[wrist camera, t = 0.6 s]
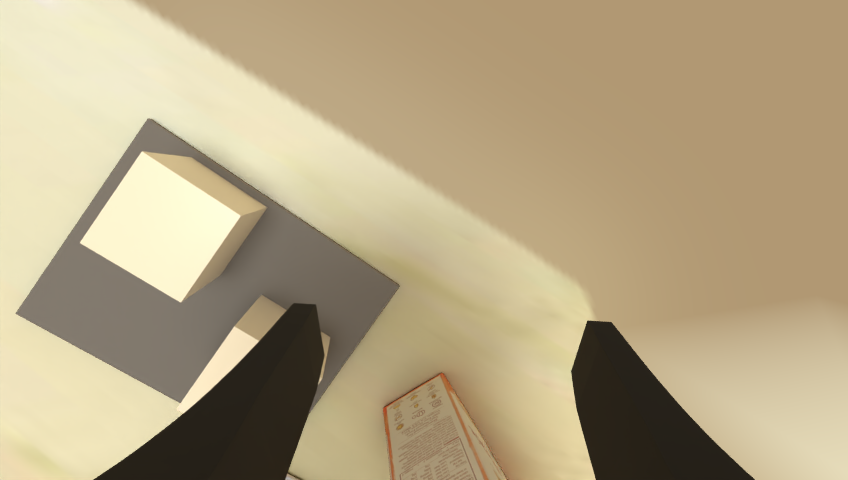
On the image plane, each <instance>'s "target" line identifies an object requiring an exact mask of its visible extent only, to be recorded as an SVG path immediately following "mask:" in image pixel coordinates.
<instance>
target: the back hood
mask: <svg viewBox="0 0 848 480" xmlns="http://www.w3.org/2000/svg"><path fill="white" fill-rule="evenodd" d="M285 312H286V309H284V308H282V307H281V306H279V305H278V304H276V303H274V302H273V301H271V300H269V299H268V298H266V297H265V296H263V295H261V296H260V297H259V298H258V299H257V300H256V302H255V303H254V304H253V305H252V306H251V307H250V309H249V310H248V311H247V312H246V313H245V314H244V316H243V317H242V318H241V319H240V320H239V321H238V323H237V324H236V325H235V326H234V327H233V329H232V330H231V332H230V333H229V335H228V336H227V337H226V339H225V340H224V342H223V343H222V345H221V346H220V347H219V349H218V350H217V352H216V353H215V355H214V356H213V357H212V359H211V360H210V362H209V363H208V365H207V366H206V368H205V369H204V370H203V372H202V373H201V375H200V376H199V378H198V379H197V380H196V382H195V383H194V385H193V386H192V388H191V389H190V390H189V392H188V393H187V395H186V396H185V398H184V399H183V400H182V402H181V403H180V405H179V406H178V408H177V409H176V410H178V411H180V412H181V413H185V412H186V411H187V410H188V409H189V408H190V407H192V406H193V405H194V404H195V403H196V402H197V401H199V400H200V399H201V398H202V397H203V396H204V395H205V394H206V393H207V392H209V391H210V390H211V389H212V388H213V387H214V386H215V385H216V384H217V383H218V382H219V381H220V380H221V379H222V378H223V377H224V376H225V375H226V374H227V373H228V372H230V371H231V370H232V369H233V368H234V367H235V366H236V365H237V364H238V363H239V362H240V361H241V359H242V358H243V357H244V356H245V355H246V354H247V353H248V352H249V351H250V350H251V349H252V348H253V347H254V346H255V345H256V344H257V343H258V342H259V341H260V339H261V338H262V337H263V336H264V335H265V334H266V333H267V332H268V331H269V330H270V328H271V327H272V326H273V325H274V324H275V323H276V322H277V321H278V319H279V318H280V317H281V316H282V315H283V314H284V313H285ZM321 337H322V342H323V348H324V354H325V356H324V361H323V365H322V370H321V375H320V379H319V383H320V381H321V380H322V378H323V373H324V368H325V363H326V357H327V352H328V347H329V342H330V337H329V336H328V335H326V334H324V333H323V332H321ZM319 383H318V384H319Z"/></svg>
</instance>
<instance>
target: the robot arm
mask: <svg viewBox="0 0 848 480" xmlns="http://www.w3.org/2000/svg"><path fill="white" fill-rule="evenodd" d="M324 356H325V354H324V348H323V342H322V337H321V331H320V325H319V319H318V313H317V307H316V304H302V303H293V304H292V305H291V306H290V307H289V308H288V309H287V310H286V312H285V313H284V314H283V315H282V316H281V317H280V318H279V319H278V321H277V322H276V323H275V324H274V325H273V326H272V327H271V328H270V330H269V331H268V332H267V333H266V334H265V335H264V336H263V337H262V338H261V339H260V341H259V342H258V343H257V344H256V345H255V346H254V347H253V348H252V349H251V350H250V351H249V352H248V353H247V354H246V355H245V356H244V357H243V358H242V359H241V361H240V362H239V363H238V364H237V365H236V366H235V367H234V368H233V369H232V370H231V371H230V372H228V373H227V374H226V375H225V376H224V377H223V378H222V379H221V380H220V381H219V382H218V383H217V384H216V385H215V386H214V387H213V388H212V389H211V390H210V391H209V392H207V393H206V394H205V395H204V396H203V397H202V398H201V399H200V400H199V401H197V402H196V403H195V404H194V405H193V406H192V407H190V408H189V409H188V410H187V411H186V412H185V413H183V414H182V415H181V416H180V417H179V418H177V419H176V420H175V421H174V422H172V423H171V424H170V425H169V426H167V427H166V428H165V429H164V430H162V431H161V432H160V433H158V434H157V435H156V436H154V437H153V438H152V439H151V440H149V441H148V442H147V443H145V444H144V445H143V446H141V447H140V448H139V449H137V450H136V451H135V452H133V453H132V454H130V455H129V456H128V457H126V458H125V459H123V460H122V461H120V462H119V463H118V464H116V465H115V466H113V467H112V468H110V469H109V470H107V471H106V472H104V473H103V474H101V475H100V476H98V477H97V478H95V479H94V480H299V479H297V478H295V477H293V476H291V475H289V474H288V470H289V467H290V464H291V461H292V459H293V456H294V453H295V450H296V448H297V445H298V442H299V439H300V436H301V434H302V431H303V428H304V425H305V422H306V420H307V417H308V414H309V411H310V408H311V406H312V403H313V400H314V397H315V394H316V391H317V387H318V383H319V379H320V375H321V370H322V365H323V361H324ZM571 373H572V381H573V388H574V395H575V401H576V408H577V412H578V416H579V420H580V423H581V427H582V431H583V434H584V438H585V442H586V445H587V449H588V453H589V456H590V460H591V463H592V467H593V471H594V474H595V478H596V480H755V479H754V478H753V477H751V476H750V475H749V474H748V473H747V472H746V471H745V470H743V468H741V467H740V466H739V465H738V464H737V463H736V462H735V461H734V460H733V459H732V458H731V457H730V456H729V455H728V454H727V453H726V452H725V451H724V450H722V449H721V448H720V447H719V446H718V445H717V444H716V443H715V442H714V441H713V440H712V439H711V438H710V437H709V436H708V435H707V434H706V433H705V432H704V431H703V430H702V429H701V428H700V426H699V425H698V424H697V423H696V422H695V421H694V420H693V419H692V418H691V417H690V416H689V415H688V414H687V413H686V412H685V410H684V409H683V408H682V407H681V406H680V405H679V404H678V403H677V401H675V399H674V398H673V397H672V396H671V395H670V393H669V392H668V391H667V390H666V389H665V388H664V387H663V385H662V384H661V383H660V382H659V381H658V379H657V378H656V377H655V376H654V375H653V373H652V372H651V371H650V370H649V369H648V368H647V366H646V365H645V364H644V362H643V361H642V360H641V359H640V358H639V356H638V355H637V354H636V352H635V351H634V350H633V349H632V347H631V346H630V345H629V344H628V342H627V341H626V340H625V339H624V337H623V336H622V335H621V334H620V332H619V331H618V330H617V328H616V327H615V326H614V325H613V324H612V322H600V321H587V324H586V327H585V330H584V333H583V336H582V339H581V343H580V346H579V349H578V352H577V355H576V358H575V361H574V365H573V368H572V371H571Z"/></svg>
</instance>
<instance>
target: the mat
mask: <svg viewBox="0 0 848 480" xmlns="http://www.w3.org/2000/svg"><path fill="white" fill-rule="evenodd" d="M142 151H143V152H151V153H160V154H168V155H177V156H185V157H192V158H193V159H195V160H196V161H198V162H200V163H201V164H203V165H204V166H206V167H207V168H209V169H210V170H212V171H213V172H215V173H216V174H218V175H219V176H221V177H222V178H224V179H225V180H227V181H228V182H230V183H231V184H233V185H234V186H236V187H237V188H239V189H240V190H242V191H243V192H245V193H246V194H248V195H249V196H251V197H252V198H254V199H255V200H257V201H258V202H260V203H261V204H263V205H264V206H266V207H267V209H266V210H265V212H264V213H263V214H262V216H261V217H260V219H259V220H258V222H257V223H256V225H255V226H254V227H253V229H252V230H251V232H250V233H249V235H248V236H247V237H246V239H245V240H244V242H243V243H242V245H241V246H240V248H239V249H238V250H237V252H236V253H235V255H234V256H233V258H232V259H231V261H230V262H229V263H228V265H227V266H226V268H225V269H224V271H223V272H222V273H221V275H220V276H219V277H217V278H216V279H214V280H213V281H211V282H210V283H209V284H207V285H206V286H204V287H203V288H201V289H200V290H198V291H197V292H196V293H194V294H193V295H191V296H190V297H188V298H187V299H185V300H184V301H183V302H179V301H177V300H175V299H174V298H172V297H170V296H169V295H167V294H165V293H164V292H162V291H160V290H159V289H157V288H155V287H153V286H152V285H150V284H148V283H147V282H145V281H143V280H142V279H140V278H138V277H137V276H135V275H133V274H131V273H130V272H128V271H126V270H125V269H123V268H121V267H120V266H118V265H116V264H115V263H113V262H111V261H109V260H108V259H106V258H104V257H103V256H101V255H99V254H98V253H96V252H94V251H93V250H91V249H89V248H88V247H86V246H84V245H82V244H81V243H80V242H81V240H82V239H83V237H84V236H85V234H86V233H87V231H88V230H89V228H90V227H91V225H92V224H93V222H94V221H95V220H96V218H97V217H98V215H99V214H100V212H101V211H102V209H103V208H104V206H105V205H106V203H107V202H108V200H109V199H110V197H111V196H112V195H113V193H114V192H115V190H116V189H117V187H118V186H119V184H120V183H121V181H122V180H123V178H124V177H125V175H126V174H127V172H128V171H129V170H130V168H131V167H132V165H133V164H134V162H135V161H136V159H137V158H138V156H139V155H140V153H141V152H142ZM399 287H400V286H399V285H398V284H397V283H395V282H394V281H392V280H391V279H389V278H388V277H386V276H385V275H383V274H382V273H380V272H379V271H377V270H376V269H374V268H373V267H371V266H370V265H369V264H367V263H366V262H364V261H363V260H361V259H360V258H358V257H357V256H355V255H354V254H352V253H351V252H349V251H348V250H346V249H345V248H343V247H342V246H340V245H339V244H337V243H336V242H334V241H333V240H331V239H330V238H328V237H327V236H325V235H324V234H322V233H321V232H319V231H318V230H316V229H315V228H313V227H312V226H310V225H309V224H307V223H306V222H304V221H303V220H301V219H300V218H298V217H297V216H295V215H294V214H292V213H291V212H289V211H288V210H286V209H285V208H283V207H282V206H280V205H279V204H277V203H276V202H274V201H273V200H271V199H270V198H268V197H267V196H265V195H264V194H262V193H261V192H259V191H258V190H256V189H255V188H253V187H252V186H250V185H249V184H247V183H246V182H244V181H243V180H241V179H240V178H238V177H237V176H235V175H234V174H232V173H231V172H229V171H228V170H226V169H225V168H223V167H222V166H220V165H219V164H217V163H216V162H214V161H213V160H211V159H210V158H208V157H207V156H205V155H204V154H202V153H201V152H199V151H198V150H196V149H195V148H194V147H192V146H191V145H189V144H188V143H186V142H185V141H183V140H182V139H180V138H179V137H177V136H176V135H174V134H173V133H171V132H170V131H168V130H167V129H165V128H164V127H162V126H161V125H159V124H158V123H156V122H155V121H153V120H152V119H147V121H146V122H145V124H144V125H143V127H142V128H141V130H140V131H139V132H138V134H137V135H136V137H135V138H134V140H133V141H132V143H131V144H130V146H129V147H128V149H127V150H126V152H125V153H124V155H123V156H122V158H121V159H120V160H119V162H118V163H117V165H116V166H115V168H114V169H113V171H112V172H111V174H110V175H109V177H108V178H107V180H106V181H105V183H104V184H103V186H102V187H101V188H100V190H99V191H98V193H97V194H96V196H95V197H94V199H93V200H92V202H91V203H90V205H89V206H88V208H87V209H86V211H85V212H84V214H83V215H82V216H81V218H80V219H79V221H78V222H77V224H76V225H75V227H74V228H73V230H72V231H71V233H70V234H69V236H68V237H67V239H66V240H65V242H64V243H63V244H62V246H61V247H60V249H59V250H58V252H57V253H56V255H55V256H54V258H53V259H52V261H51V262H50V264H49V265H48V267H47V268H46V270H45V271H44V272H43V274H42V275H41V277H40V278H39V280H38V281H37V283H36V284H35V286H34V287H33V289H32V290H31V292H30V293H29V295H28V296H27V298H26V299H25V300H24V302H23V303H22V305H21V306H20V308H19V309H18V311H17V312H16V314H17V315H19V316H21V317H23V318H25V319H26V320H28V321H30V322H32V323H34V324H36V325H37V326H39V327H41V328H43V329H45V330H47V331H49V332H50V333H52V334H54V335H56V336H58V337H60V338H61V339H63V340H65V341H67V342H69V343H71V344H72V345H74V346H76V347H78V348H80V349H82V350H83V351H85V352H87V353H89V354H91V355H93V356H95V357H96V358H98V359H100V360H102V361H104V362H106V363H107V364H109V365H111V366H113V367H115V368H117V369H118V370H120V371H122V372H124V373H126V374H128V375H129V376H131V377H133V378H135V379H137V380H139V381H140V382H142V383H144V384H146V385H148V386H150V387H152V388H153V389H155V390H157V391H159V392H161V393H163V394H164V395H166V396H168V397H170V398H172V399H174V400H175V401H177V402H179V403H181V402H182V400H183V399H184V398H185V396H186V395H187V393H188V392H189V390H190V389H191V388H192V386H193V385H194V383H195V382H196V380H197V379H198V378H199V376H200V375H201V373H202V372H203V370H204V369H205V368H206V366H207V365H208V363H209V362H210V360H211V359H212V357H213V356H214V355H215V353H216V352H217V350H218V349H219V347H220V346H221V345H222V343H223V342H224V340H225V339H226V337H227V336H228V335H229V333H230V332H231V330H232V329H233V327H234V326H235V325H236V324H237V323H238V321H239V320H240V319H241V318H242V317H243V316H244V314H245V313H246V312H247V311H248V310H249V309H250V307H251V306H252V305H253V304H254V303H255V302H256V300H257V299H258V298H259V297H260V296H261V295H263V296H265V297H266V298H268V299H269V300H271V301H273V302H274V303H276V304H278V305H279V306H281V307H282V308H284V309H286V310H287V309H288V308H289V307H290V306H291V305H292V304H293V303H302V304H316V307H317V313H318V319H319V325H320V331H321V332H323V333H324V334H326V335H328V336H329V337H330V342H329V347H328V352H327V357H326V363H325V368H324V373H323V378H322V380H321V381H320V383H319V384H318V387H317V391H316V394H315V397H314V400H313V403H312V406H311V408H310V411H309V413H310V412H311V410H312V409H313V407H314V406H315V405H316V403H317V402H318V400H319V399H320V398H321V396H322V395H323V393H324V392H325V391H326V389H327V388H328V386H329V385H330V383H331V382H332V381H333V379H334V378H335V376H336V375H337V374H338V372H339V371H340V369H341V368H342V367H343V365H344V364H345V362H346V361H347V360H348V358H349V357H350V355H351V354H352V353H353V351H354V350H355V348H356V347H357V346H358V344H359V343H360V341H361V340H362V339H363V337H364V336H365V334H366V333H367V332H368V330H369V329H370V327H371V326H372V324H373V323H374V322H375V320H376V319H377V317H378V316H379V315H380V313H381V312H382V310H383V309H384V308H385V306H386V305H387V303H388V302H389V301H390V299H391V298H392V296H393V295H394V294H395V292H396V291H397V289H398V288H399Z"/></svg>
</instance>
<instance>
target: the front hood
mask: <svg viewBox="0 0 848 480" xmlns="http://www.w3.org/2000/svg"><path fill="white" fill-rule="evenodd" d="M266 209H267V207H266V206H264V205H263V204H261V203H260V202H258V201H257V200H255V199H254V198H252V197H251V196H249V195H248V194H246V193H245V192H243V191H242V190H240V189H239V188H237V187H236V186H234V185H233V184H231V183H230V182H228V181H227V180H225V179H224V178H222V177H221V176H219V175H218V174H216V173H215V172H213V171H212V170H210V169H209V168H207V167H206V166H204V165H203V164H201V163H200V162H198V161H196V160H195V159H193V158H192V157H185V156H177V155H168V154H160V153H151V152H143V151H142V152H141V153H140V155H139V156H138V158H137V159H136V161H135V162H134V164H133V165H132V167H131V168H130V170H129V171H128V172H127V174H126V175H125V177H124V178H123V180H122V181H121V183H120V184H119V186H118V187H117V189H116V190H115V192H114V193H113V195H112V196H111V197H110V199H109V200H108V202H107V203H106V205H105V206H104V208H103V209H102V211H101V212H100V214H99V215H98V217H97V218H96V220H95V221H94V222H93V224H92V225H91V227H90V228H89V230H88V231H87V233H86V234H85V236H84V237H83V239H82V240H81V242H80V243H81V244H82V245H84V246H86V247H88V248H89V249H91V250H93V251H94V252H96V253H98V254H99V255H101V256H103V257H104V258H106V259H108V260H109V261H111V262H113V263H115V264H116V265H118V266H120V267H121V268H123V269H125V270H126V271H128V272H130V273H131V274H133V275H135V276H137V277H138V278H140V279H142V280H143V281H145V282H147V283H148V284H150V285H152V286H153V287H155V288H157V289H159V290H160V291H162V292H164V293H165V294H167V295H169V296H170V297H172V298H174V299H175V300H177V301H179V302H183V301H184V300H185V299H187V298H188V297H190V296H191V295H193V294H194V293H196V292H197V291H198V290H200V289H201V288H203V287H204V286H206V285H207V284H209V283H210V282H211V281H213V280H214V279H216V278H217V277H219V276H220V275H221V273H222V272H223V271H224V269H225V268H226V266H227V265H228V263H229V262H230V261H231V259H232V258H233V256H234V255H235V253H236V252H237V250H238V249H239V248H240V246H241V245H242V243H243V242H244V240H245V239H246V237H247V236H248V235H249V233H250V232H251V230H252V229H253V227H254V226H255V225H256V223H257V222H258V220H259V219H260V217H261V216H262V214H263V213H264V212H265V210H266Z"/></svg>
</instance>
